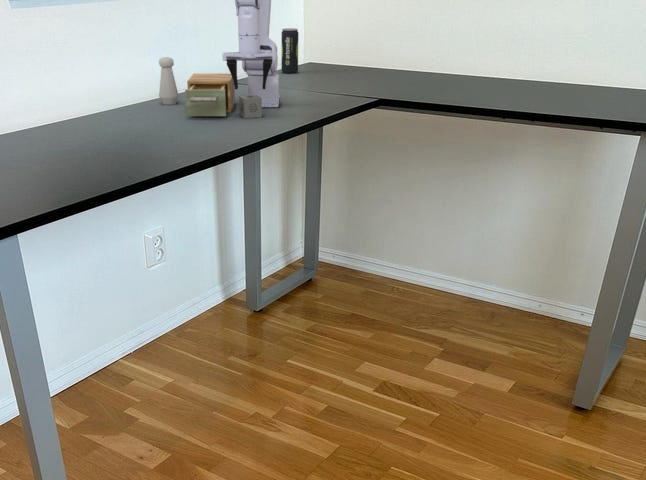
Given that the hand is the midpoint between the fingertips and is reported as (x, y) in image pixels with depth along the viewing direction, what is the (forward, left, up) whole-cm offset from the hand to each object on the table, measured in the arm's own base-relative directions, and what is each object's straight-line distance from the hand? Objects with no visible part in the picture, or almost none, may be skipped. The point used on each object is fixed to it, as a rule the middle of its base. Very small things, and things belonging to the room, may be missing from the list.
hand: (250, 88), depth 194 cm
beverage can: (-10, -79, -7) cm, 80 cm away
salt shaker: (+26, -18, -7) cm, 33 cm away
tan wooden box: (+12, -11, -7) cm, 18 cm away
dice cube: (0, 0, -7) cm, 7 cm away
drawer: (+12, +1, -6) cm, 14 cm away
